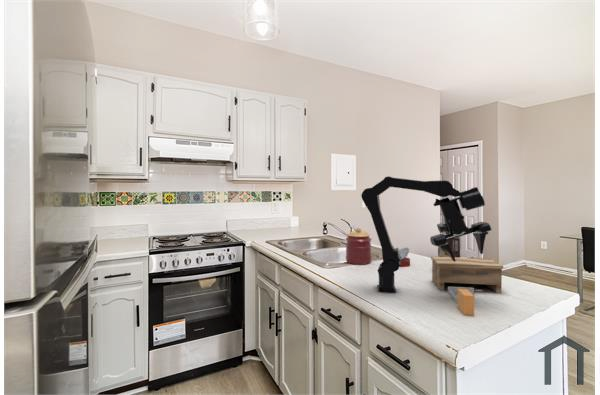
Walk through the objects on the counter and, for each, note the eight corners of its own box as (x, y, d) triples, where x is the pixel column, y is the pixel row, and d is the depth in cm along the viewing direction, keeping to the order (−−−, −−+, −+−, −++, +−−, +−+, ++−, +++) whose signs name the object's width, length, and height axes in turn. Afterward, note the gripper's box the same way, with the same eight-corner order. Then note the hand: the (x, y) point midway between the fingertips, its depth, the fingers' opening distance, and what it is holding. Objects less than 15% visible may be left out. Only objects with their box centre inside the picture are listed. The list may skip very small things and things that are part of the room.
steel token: (485, 292, 110) (485, 290, 110) (472, 292, 111) (472, 289, 111) (480, 288, 115) (480, 286, 115) (468, 288, 116) (468, 286, 116)
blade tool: (497, 317, 90) (498, 297, 89) (463, 314, 91) (464, 295, 91) (472, 293, 109) (473, 277, 108) (445, 292, 110) (445, 276, 110)
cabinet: (503, 293, 108) (504, 266, 108) (438, 290, 112) (438, 263, 112) (489, 283, 119) (489, 258, 119) (430, 280, 124) (431, 256, 123)
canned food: (407, 276, 145) (408, 260, 140) (386, 271, 150) (386, 256, 145) (412, 261, 153) (413, 245, 148) (392, 256, 158) (392, 242, 153)
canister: (348, 257, 163) (348, 225, 162) (373, 259, 158) (373, 226, 158) (343, 263, 151) (343, 228, 150) (369, 266, 146) (369, 230, 146)
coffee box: (460, 271, 136) (460, 236, 136) (460, 275, 131) (460, 238, 130) (438, 268, 141) (438, 234, 140) (437, 272, 135) (437, 237, 134)
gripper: (470, 206, 111) (484, 246, 110) (420, 221, 114) (434, 261, 113) (483, 206, 100) (500, 251, 99) (428, 223, 103) (443, 267, 102)
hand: (468, 257), depth 104 cm, fingers open, 9 cm apart
